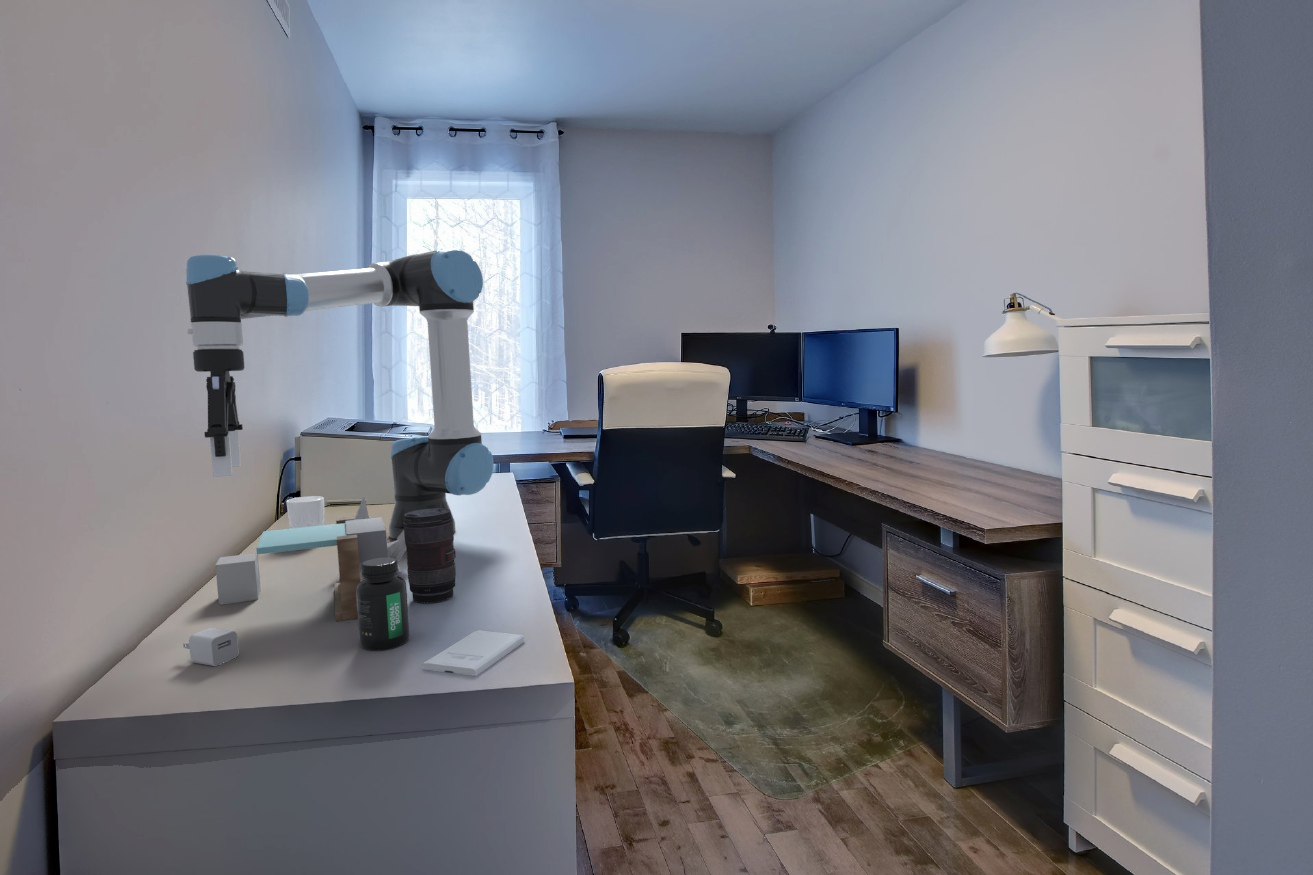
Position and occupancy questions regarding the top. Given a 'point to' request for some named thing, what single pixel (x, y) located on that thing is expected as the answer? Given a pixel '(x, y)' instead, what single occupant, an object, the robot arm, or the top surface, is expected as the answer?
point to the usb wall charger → (213, 646)
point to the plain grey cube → (238, 578)
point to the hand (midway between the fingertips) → (228, 471)
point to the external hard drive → (474, 653)
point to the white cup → (306, 511)
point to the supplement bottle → (382, 605)
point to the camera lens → (430, 554)
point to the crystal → (393, 548)
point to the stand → (347, 575)
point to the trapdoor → (329, 538)
